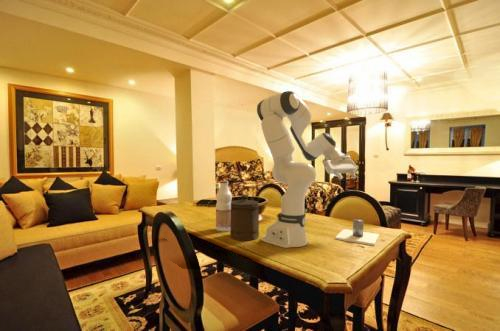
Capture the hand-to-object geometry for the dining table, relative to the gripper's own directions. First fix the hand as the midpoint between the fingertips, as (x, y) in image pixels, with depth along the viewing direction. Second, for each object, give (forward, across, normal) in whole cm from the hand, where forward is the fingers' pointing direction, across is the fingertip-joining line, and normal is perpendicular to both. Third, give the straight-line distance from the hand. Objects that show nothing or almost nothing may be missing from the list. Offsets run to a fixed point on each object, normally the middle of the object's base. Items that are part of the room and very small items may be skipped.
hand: (348, 178), depth 134 cm
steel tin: (+26, 0, +16) cm, 30 cm away
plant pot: (+1, -9, +44) cm, 45 cm away
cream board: (+26, 0, +16) cm, 31 cm away
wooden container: (+8, -52, +35) cm, 64 cm away
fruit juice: (-3, -58, +47) cm, 75 cm away
